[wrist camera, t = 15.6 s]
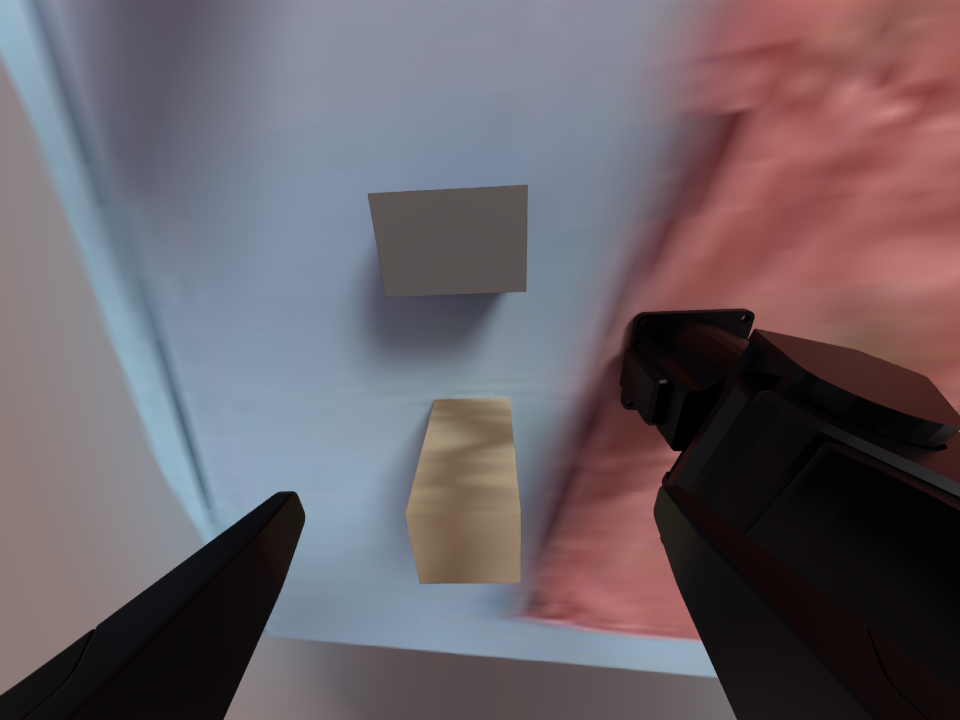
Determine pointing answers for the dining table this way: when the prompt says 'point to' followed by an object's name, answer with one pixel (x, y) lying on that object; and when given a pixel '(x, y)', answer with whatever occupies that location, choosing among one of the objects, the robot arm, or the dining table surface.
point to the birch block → (466, 495)
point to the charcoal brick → (451, 240)
